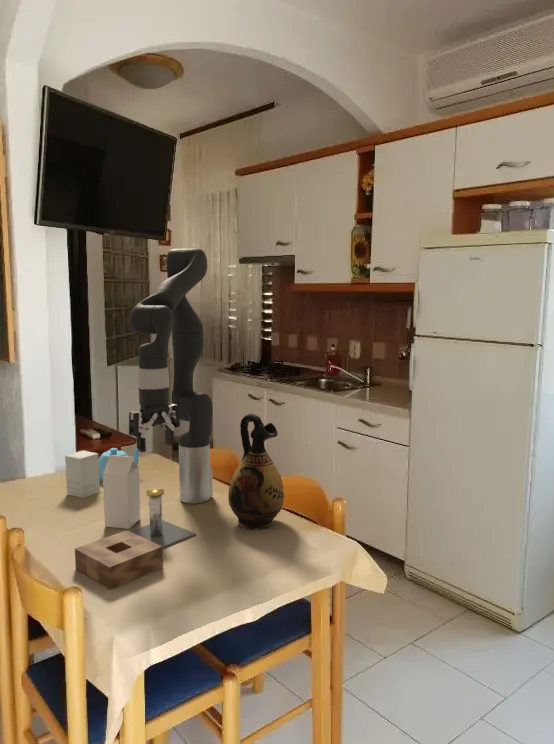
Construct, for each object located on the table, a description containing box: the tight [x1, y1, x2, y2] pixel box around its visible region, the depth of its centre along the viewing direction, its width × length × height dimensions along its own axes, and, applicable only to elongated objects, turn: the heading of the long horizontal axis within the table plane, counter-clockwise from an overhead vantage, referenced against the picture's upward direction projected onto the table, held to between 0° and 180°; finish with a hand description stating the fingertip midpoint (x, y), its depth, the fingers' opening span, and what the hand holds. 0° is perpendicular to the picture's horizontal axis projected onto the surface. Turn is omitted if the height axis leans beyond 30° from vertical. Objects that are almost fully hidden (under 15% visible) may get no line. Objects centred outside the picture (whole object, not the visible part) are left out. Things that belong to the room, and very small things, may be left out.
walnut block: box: [74, 529, 164, 590], centre depth 137 cm, size 14×14×5 cm
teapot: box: [98, 447, 140, 483], centre depth 203 cm, size 15×15×10 cm
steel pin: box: [146, 487, 165, 537], centre depth 154 cm, size 4×4×12 cm
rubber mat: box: [129, 519, 197, 549], centre depth 155 cm, size 14×14×1 cm
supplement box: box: [64, 450, 101, 499], centre depth 187 cm, size 7×7×13 cm
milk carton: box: [102, 455, 141, 530], centre depth 163 cm, size 7×7×19 cm
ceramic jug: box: [227, 413, 285, 531], centre depth 163 cm, size 17×15×30 cm
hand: (155, 448), depth 152 cm, fingers open, 8 cm apart
